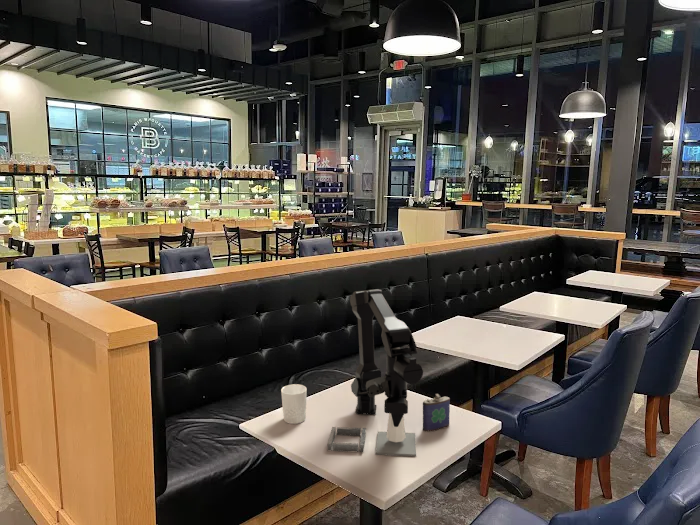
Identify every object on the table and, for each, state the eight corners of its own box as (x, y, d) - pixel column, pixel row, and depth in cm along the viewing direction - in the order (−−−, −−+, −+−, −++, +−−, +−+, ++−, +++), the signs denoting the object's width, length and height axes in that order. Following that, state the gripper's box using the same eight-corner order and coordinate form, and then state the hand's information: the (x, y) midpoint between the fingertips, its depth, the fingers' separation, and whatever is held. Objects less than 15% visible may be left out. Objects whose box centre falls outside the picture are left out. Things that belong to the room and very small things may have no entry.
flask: (446, 422, 162) (447, 390, 160) (451, 426, 159) (452, 393, 157) (420, 428, 158) (421, 395, 156) (426, 433, 156) (426, 399, 154)
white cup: (277, 419, 165) (276, 389, 164) (296, 411, 171) (295, 382, 169) (292, 427, 160) (291, 396, 158) (312, 419, 165) (311, 389, 163)
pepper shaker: (395, 444, 145) (396, 408, 143) (382, 437, 150) (382, 401, 147) (409, 438, 149) (410, 402, 147) (396, 430, 153) (396, 395, 151)
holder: (332, 433, 156) (332, 426, 156) (365, 434, 155) (365, 428, 155) (327, 450, 146) (327, 443, 146) (363, 452, 145) (363, 445, 145)
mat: (377, 433, 156) (377, 431, 156) (415, 434, 155) (415, 432, 154) (375, 454, 144) (375, 452, 144) (416, 456, 143) (416, 454, 143)
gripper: (369, 357, 155) (369, 407, 158) (365, 382, 137) (365, 438, 140) (407, 359, 154) (406, 408, 157) (408, 384, 136) (407, 440, 139)
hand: (396, 422), depth 148 cm, fingers closed on pepper shaker, 4 cm apart
